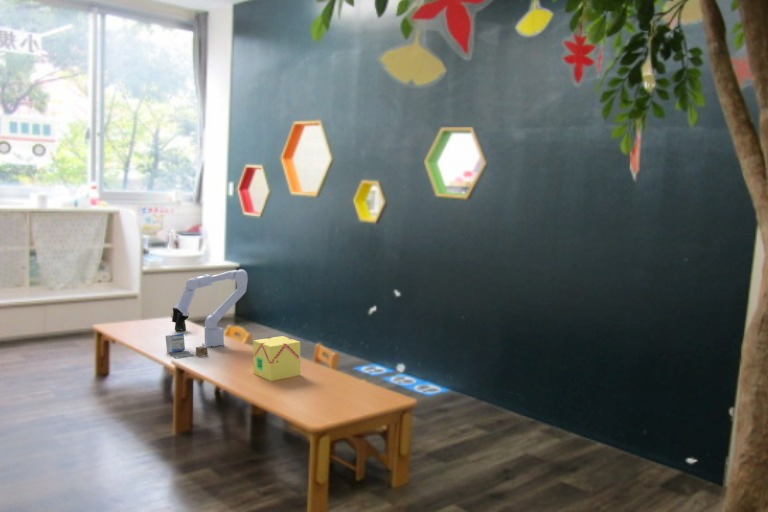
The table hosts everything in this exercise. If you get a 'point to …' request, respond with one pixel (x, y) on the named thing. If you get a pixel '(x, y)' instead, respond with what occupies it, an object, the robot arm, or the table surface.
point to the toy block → (276, 358)
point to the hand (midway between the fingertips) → (175, 324)
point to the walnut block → (201, 350)
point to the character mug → (183, 326)
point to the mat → (181, 354)
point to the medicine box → (175, 342)
